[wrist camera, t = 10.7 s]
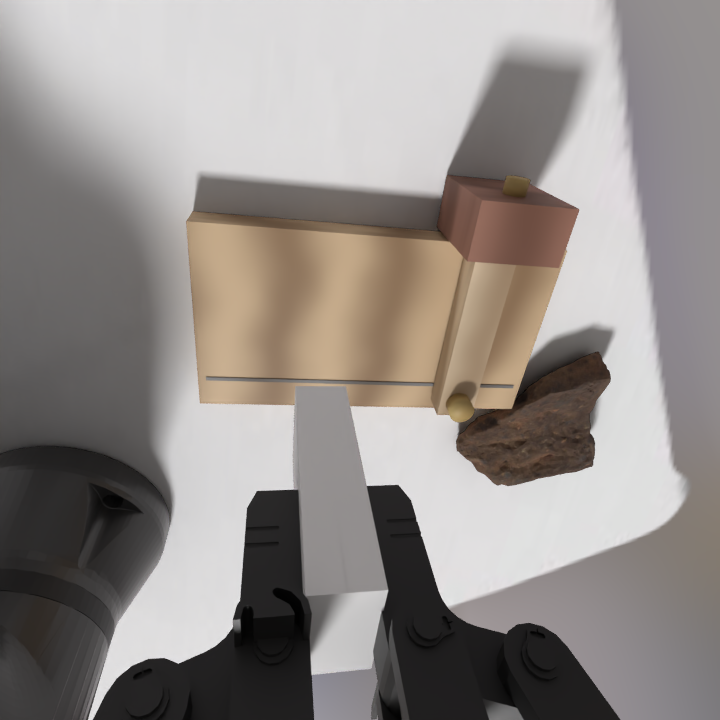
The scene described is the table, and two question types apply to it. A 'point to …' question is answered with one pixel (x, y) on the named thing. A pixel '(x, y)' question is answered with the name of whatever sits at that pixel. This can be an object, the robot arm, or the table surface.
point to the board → (341, 312)
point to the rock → (540, 427)
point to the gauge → (490, 271)
